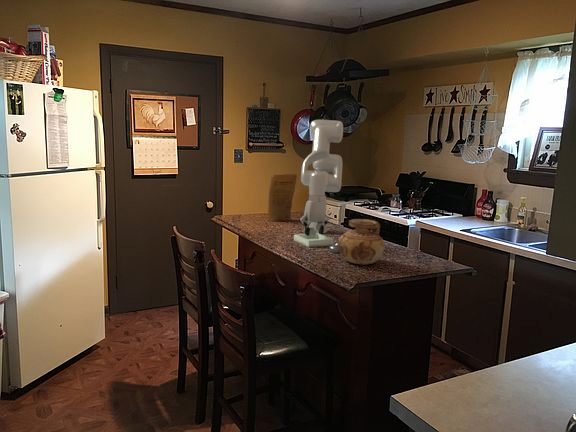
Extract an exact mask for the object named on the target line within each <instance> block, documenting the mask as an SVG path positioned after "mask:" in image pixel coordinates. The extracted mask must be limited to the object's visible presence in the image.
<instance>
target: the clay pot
mask: <svg viewBox="0 0 576 432" xmlns="http://www.w3.org/2000/svg"><path fill="white" fill-rule="evenodd" d="M348 226H349V227H352V228H355V229H351V230H347V231H346V232H344V233H342V235H341V236H339V239H338V242H337V243H338V246H339V251H340V256H341V257H342V258H343V259H344V260H345V261H347V262H349V263H352V264H354V265H359V266H365V265H372V264H374V263H376V262H378V260H380V258H381V257H382V255H383V253H384V250H385V242H384V239H383V237H381V236H380V229H381V224H380V222H378V221H377V220H373V219H365V218H363V219H362V218H353V219H349V220H348Z"/></svg>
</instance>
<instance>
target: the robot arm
mask: <svg viewBox="0 0 576 432" xmlns="http://www.w3.org/2000/svg"><path fill="white" fill-rule="evenodd" d="M309 129H310V136H311V140H312V150H311V153H309V154H308V155H307V156H306V157H305V158H304V161H303V162H302V166H301V171H300V181H301V184H302V185H304V186H308V200H306V203H305V207H304V213H303V215H302V216H301V217H300V218H299V220H300V222H301V223H302V225H303V226H304V228H303V230H304V234H305V235H307V236H309V233H310V227H313V228H314V229H315V227H316V225H317V223H318V222H321V223H322V225H321V227H320V229H319V231H317V230H316V233H319V234H321V235H324V234H326V233H328V229H331V228H333V224H332V223H328V222H329V220H330V217H329V216H328V215H327V196H326V192H327V193H328V192H329V193H338V192H340V191H341V188H342V176H343V158H342V156H341V155H340V154H333V153H330V145H331V143H337V144H339V143H342V140H343V136H344V124H343V122H342V121H341V120H332V119H330V120H329V119H315V120H312V121H311V122H310V127H309ZM311 164H312V168H313V170H308V167H309V166H310V165H311Z"/></svg>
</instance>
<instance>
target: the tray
mask: <svg viewBox="0 0 576 432" xmlns="http://www.w3.org/2000/svg"><path fill="white" fill-rule="evenodd" d="M293 241H295V242H297V243H299V244H301V245H302V246H305V247H307V248H313V247H327V246H328V247H329V245H332V244H335V242H334V241H335V239H334V238H332V237H329V236H327V235H324V234H323V235H321V234H319V233H316V238H315V239H308V238H307V235H305V233H298V234H297V233H296V234H294V235H293Z"/></svg>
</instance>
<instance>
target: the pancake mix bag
mask: <svg viewBox="0 0 576 432" xmlns="http://www.w3.org/2000/svg"><path fill="white" fill-rule="evenodd" d="M297 178H298V177H297V174H295V173H293V174H292V173H289V174H288V173H287V174H286V173H285V174H272V176H271V177H270V181H269V188H268V197H267V198H268V199H267V202H268V203H267V205H268V206H267V220H266V221H267V222H273V221H275V222H290V221H291V220H292V215H291V213H292V207H293V198H294V196H295V195H294V194H295V191H296V190H295V189H296V185H297Z"/></svg>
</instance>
